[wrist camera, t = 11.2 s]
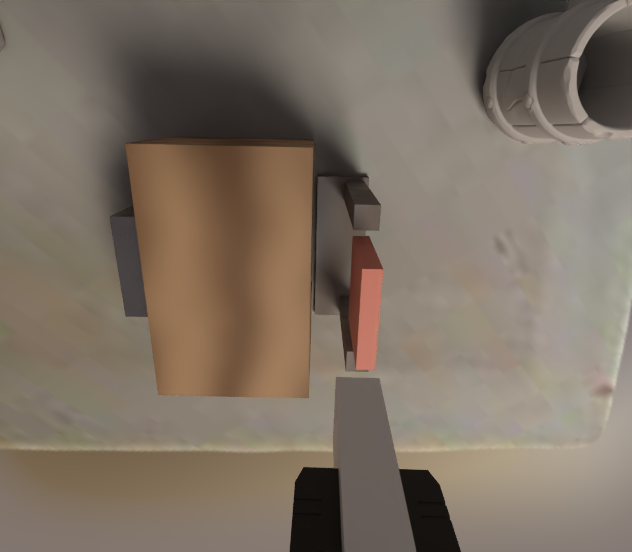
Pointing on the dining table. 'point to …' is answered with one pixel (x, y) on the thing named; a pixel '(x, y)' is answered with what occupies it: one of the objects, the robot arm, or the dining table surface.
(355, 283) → the block
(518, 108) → the mug
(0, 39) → the flask
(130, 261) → the dark grey block
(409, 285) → the dining table surface
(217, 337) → the block
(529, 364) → the dining table surface
